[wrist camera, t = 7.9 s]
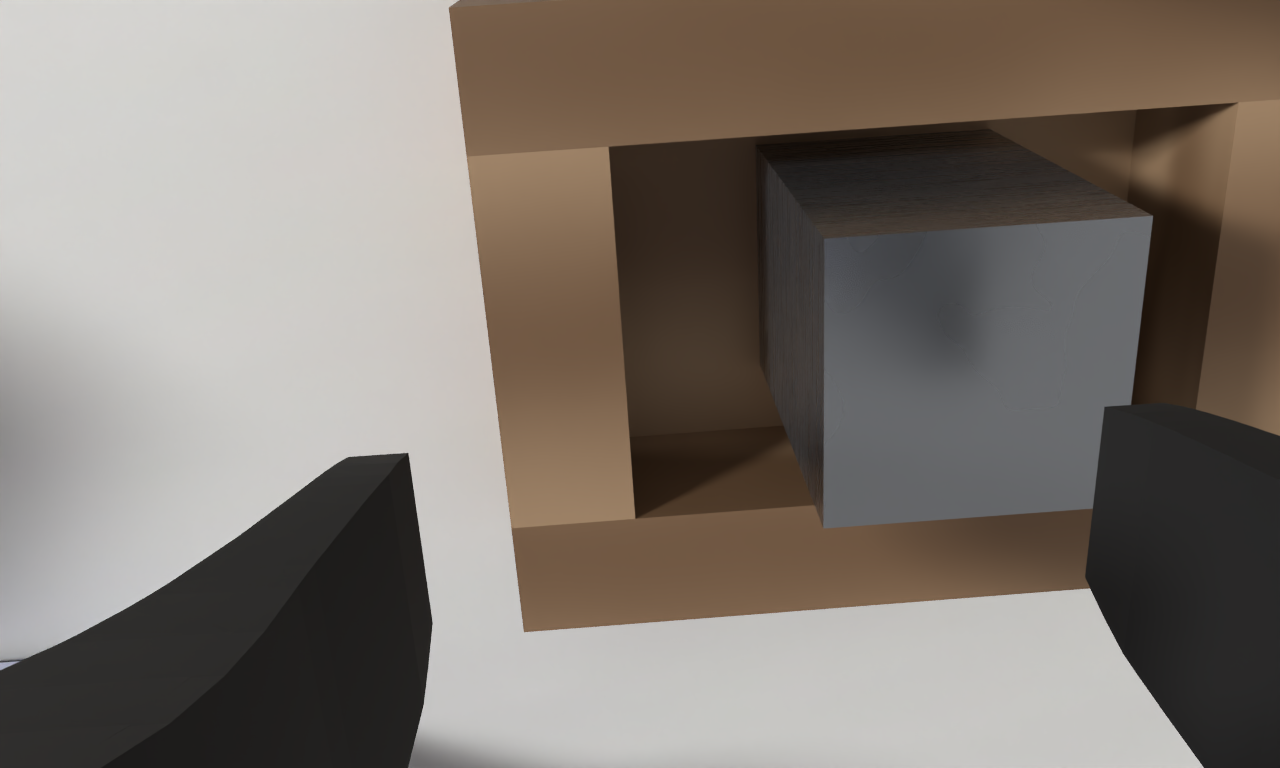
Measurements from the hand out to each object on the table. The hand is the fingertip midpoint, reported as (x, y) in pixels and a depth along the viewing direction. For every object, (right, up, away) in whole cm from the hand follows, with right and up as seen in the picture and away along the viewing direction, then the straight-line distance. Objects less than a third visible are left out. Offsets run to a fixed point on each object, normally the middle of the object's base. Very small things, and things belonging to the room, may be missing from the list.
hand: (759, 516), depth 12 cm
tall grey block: (+3, +4, +8) cm, 9 cm away
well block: (+3, +4, +9) cm, 10 cm away
